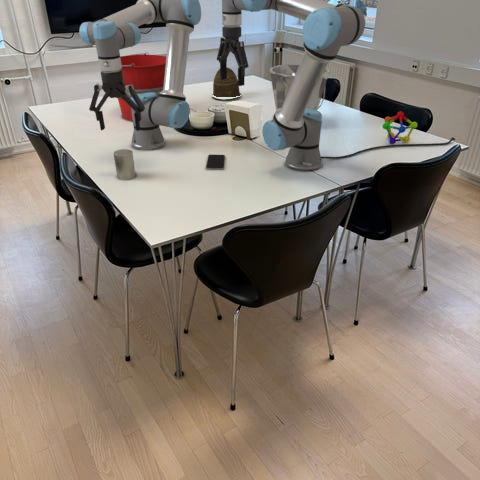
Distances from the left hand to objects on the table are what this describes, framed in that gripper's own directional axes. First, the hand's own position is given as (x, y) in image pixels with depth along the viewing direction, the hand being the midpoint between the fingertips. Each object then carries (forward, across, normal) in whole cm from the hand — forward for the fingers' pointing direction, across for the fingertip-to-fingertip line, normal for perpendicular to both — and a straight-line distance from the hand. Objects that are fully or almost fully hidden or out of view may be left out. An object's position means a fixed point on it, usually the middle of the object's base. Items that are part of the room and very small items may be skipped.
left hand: (120, 129), depth 167 cm
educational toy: (+21, +116, +47) cm, 127 cm away
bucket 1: (+21, -14, +82) cm, 86 cm away
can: (+19, 0, -1) cm, 19 cm away
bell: (+22, +28, +125) cm, 130 cm away
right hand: (-10, +40, +31) cm, 51 cm away
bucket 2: (+22, +70, +71) cm, 101 cm away
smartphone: (+20, +34, +16) cm, 42 cm away
